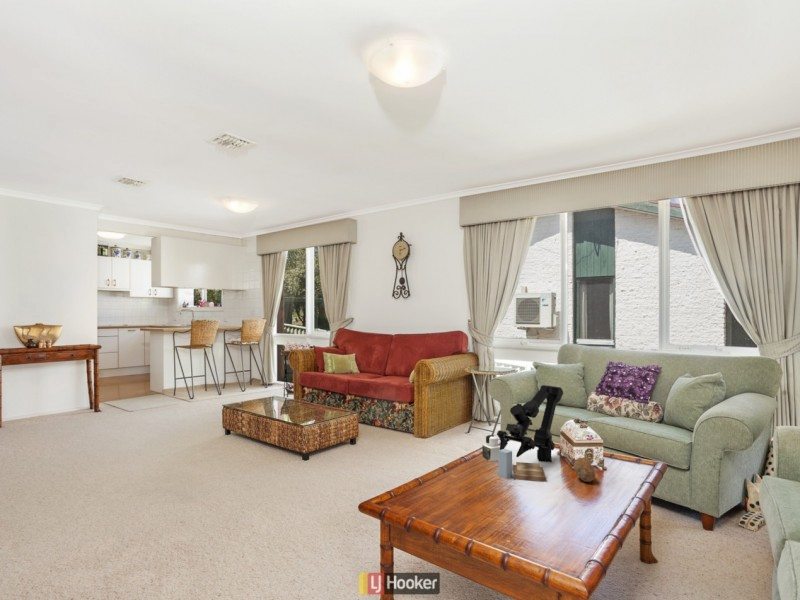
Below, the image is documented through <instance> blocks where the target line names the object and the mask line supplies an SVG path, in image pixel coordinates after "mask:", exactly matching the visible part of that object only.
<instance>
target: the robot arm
mask: <svg viewBox="0 0 800 600" xmlns="http://www.w3.org/2000/svg"><path fill="white" fill-rule="evenodd" d="M563 394H564V390H563V389H562V387H560V386H555V385H554V386H553V385H546V384H542V385H541V386H540V389H539V390H538V391H537V393H535V395H534V396H533V397H532V399H531V400H529V401H526V402H525V403H524V404H522V403H516V405H513V406H512V407H510V410H509V412H510V414H511V415H512V417H513V418H514V420H515V421H516V424H511V423H507V424H506V427H505V430H506V431H505V430H502V429H499V430H498V431H497V432H496V436H497V437H498V439H499V441H500V444H499V446H500V450H502V449H506V447H507V445H508V442H509V441H513V442H518V443H520V446H519V449H518V450H517V452H516V456H515V457H516V458H519V457H521V456H522V455H523V454H525V453H526V452H528V451H531V450H534V449H535V448H537V450H536V458H537V460H538V462H546V463H552V451H554V449H555V446H556V444H555V442H554V441H553V435H552V432H551V429H552V424H553V420H554V416H555V411H556V407H557V404H558V403H559V402H561V400H562V397H563V396H564V395H563ZM545 400H546V403H545V406H544V407H545V408H544V411H543V416H542V420H541V424H540V427H539V428H538V429H537V428H536V429H535V431H534V436H533V438H532V437H529V436H527V435H528V432H527V431H528V429H529V427H530V426H533V422H532V419H533V418H534V419H535V418H536V417H537V416H538V414H539V413H540V406H541V405H542V403H544V401H545ZM531 418H532V419H531ZM507 431H508V432H507ZM508 433H509V434H508Z"/></svg>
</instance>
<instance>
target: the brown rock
mask: <svg viewBox="0 0 800 600" xmlns="http://www.w3.org/2000/svg"><path fill="white" fill-rule="evenodd" d="M573 469H574V472H575V474H576V475H577V476H578V477H579V478H580V480H582V481H583V482H588V483H590V482H592V481H594V479H595V477H596V471H595V469H594V467H593V466H592V463H591V462H590V460H589V459H588V458H586V457H585V456H584V457H580V458H577V459H575V461H574V463H573Z"/></svg>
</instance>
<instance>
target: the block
mask: <svg viewBox="0 0 800 600" xmlns="http://www.w3.org/2000/svg"><path fill="white" fill-rule="evenodd" d="M497 462H498V473H497V474H498V477H499V478H502V479H505V480H508V479H511V478H512V477H513V450H510V449H508V448H507V449H506V448H504V449H502V450H499V451H498V461H497Z"/></svg>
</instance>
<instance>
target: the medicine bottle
mask: <svg viewBox="0 0 800 600" xmlns="http://www.w3.org/2000/svg"><path fill="white" fill-rule="evenodd" d="M498 442H499V437H498V436H497V435H494V434H488V435H486V436H485V443H484V444H482V459H484V460H486V461H488V462H491V461H492V462H498V461H497V460H498V451H499V450H500V444H498ZM492 462H491V463H492Z"/></svg>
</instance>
